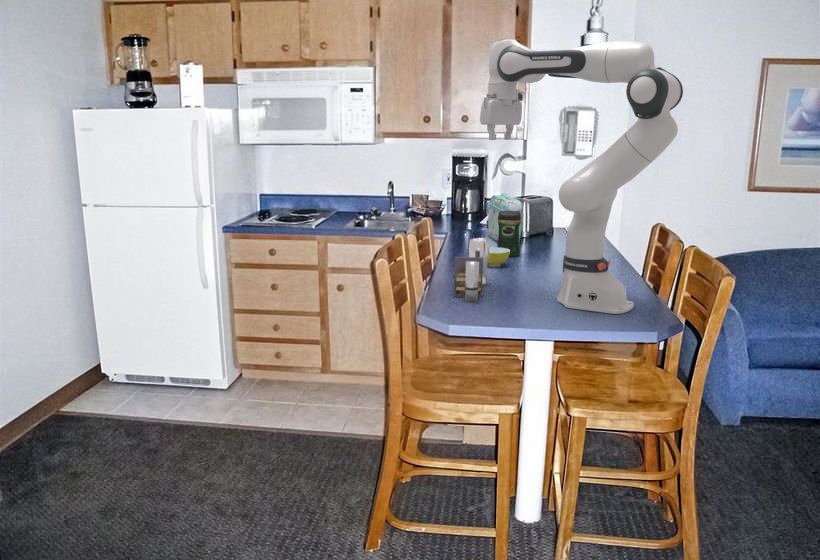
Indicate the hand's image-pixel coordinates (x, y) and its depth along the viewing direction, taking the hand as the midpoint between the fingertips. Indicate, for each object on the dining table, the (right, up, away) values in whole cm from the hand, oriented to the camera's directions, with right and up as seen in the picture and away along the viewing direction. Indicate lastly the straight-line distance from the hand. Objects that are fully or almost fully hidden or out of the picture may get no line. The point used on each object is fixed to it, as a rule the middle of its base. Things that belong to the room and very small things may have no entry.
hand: (500, 139), depth 206 cm
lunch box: (+15, -26, +97) cm, 101 cm away
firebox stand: (-10, -49, +1) cm, 50 cm away
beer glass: (-5, -46, +15) cm, 49 cm away
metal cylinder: (-10, -51, -6) cm, 52 cm away
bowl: (+4, -39, +43) cm, 58 cm away
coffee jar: (+12, -35, +62) cm, 72 cm away
